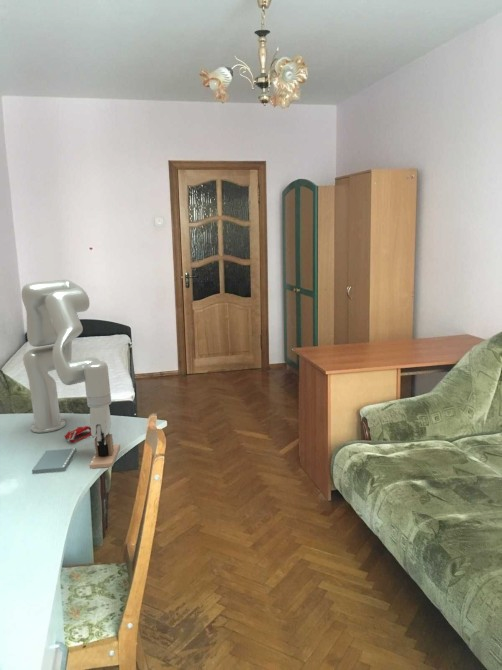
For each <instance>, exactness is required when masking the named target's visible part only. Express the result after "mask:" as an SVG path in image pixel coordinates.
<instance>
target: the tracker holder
mask: <svg viewBox="0 0 502 670" xmlns="http://www.w3.org/2000/svg"><path fill="white" fill-rule="evenodd" d="M87 430H89V433H87V434H85V435H83V436H81V437H79V438H77V439H74V438H76V436H79V435H81V434H82V433H84V432H86V431H87ZM89 436H91V426H88V425H84V426H78V427H75V428H72V429H71V430H69V431H68V432H67V433H66V434H65V435H64V438H65V439H67V440H66V442H69V443H77V442H79V441H81V440H83V439H86V438H87V437H89Z"/></svg>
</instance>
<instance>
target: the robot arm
mask: <svg viewBox="0 0 502 670" xmlns="http://www.w3.org/2000/svg"><path fill="white" fill-rule="evenodd" d="M20 295H21V299H22V300H21V301H22V303H23V306H24V308H25V313H26V337H27V342H28V344H29V345H30V346H31V347H35V348H31V349H29V350H27V351H25V353H24V354H23V358H22V359H23V365H24V369H25V372H26V374H27V378H28V385H29V390H30V398H31V406H32V412H33V413H32V414H33V420H34V422H33V423H34V424H32V425H31V426H30V430H31V432H33V433H40V434H42V433H43V434H44V433H51V432H54V431H58V430H61V429H62V428H64V427H65V426H66V421H65V420H64V419H61V412H60V405H59V397H58V389H57V382H56V380H55V379H54V377H52V375H50V374H49V372H51V371H52V372H53V371H55V372H56V373H57V377H58V378H59V381H60V382H61V383H62V384H63V385H66V386H72V385H77V384H81V383H84V387H85V393H86V402H87V404H86V405H87V408H89V421H90V427H91V435H90V436H91V437H92V438H95V437H96V436H97V447H98V456H99V457H102V456H108V455H109V452H108V444H107V442H106V435H107V434H110V429H111V427H112V421H111V412H110V405H111V404H112V396H111V395H112V393H111V387H110V386H111V385H110V377H109V368H108V367H109V366H108V364H107V362H105V361H103V360H102V361H101V360H100V359H99V358H97V357H95V356H93V357H92V356H90V357H85V358H80V359H75V360H72V356H73V355H72V349H73V345H72V341H73V340H75V339H77V337H79V336H80V335H81V334H82V333H83V330H84V329H83V325H82V322H81V320H80V317H79V315H78V313H82V312H87V310H88V309H89V308H90V298H89V295H88V293H87V291H85V289H83V288H82V287H81V286H80V285H78V284H76V283H75V282H73V281H71V280H70V279H69V280H68V279H60V280H49V281H38V282H37V281H36V282H32V283H31V282H30V283H28V284H27V283H26V284H25V285H24V286H23V287H22V289H21V294H20ZM102 437H104V439H102Z"/></svg>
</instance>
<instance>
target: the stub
mask: <svg viewBox="0 0 502 670" xmlns="http://www.w3.org/2000/svg"><path fill="white" fill-rule="evenodd" d="M102 439H104V437H102ZM93 441H94V448H95V453H94V455H93V457H92V459H91V461H90V463H89V469H100V468H110V467H111V468H112V467H113V466H114V464H115V461H116V459H117V457H118V454H119V451H120V448H121V443H118V444H117V443H116V444H115V443H114V440H113V434H112V433H109V434H107V435H106V442H107V444H108V452H109V455H108V456H102V457H99V456H98V447H97V435H95V436H94V440H93Z"/></svg>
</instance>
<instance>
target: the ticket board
mask: <svg viewBox="0 0 502 670" xmlns="http://www.w3.org/2000/svg"><path fill="white" fill-rule="evenodd" d="M76 453H77V448H76V447H73V448H62V449H59V448H58V449H50V450H49V449H48V450H45V451H44V453H43V454H42V456H41V457H40V458H39V460H38V461H37V462H36V464H35V465H34V467H33V468H32V470H31V473H32V475H34V473H36V474H46V473H48V474H49V473H58V472H65V471H66V470H67V469H68V467H69V465H70V463H71V461H72V460H73V458H74V457H75V455H76Z"/></svg>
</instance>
